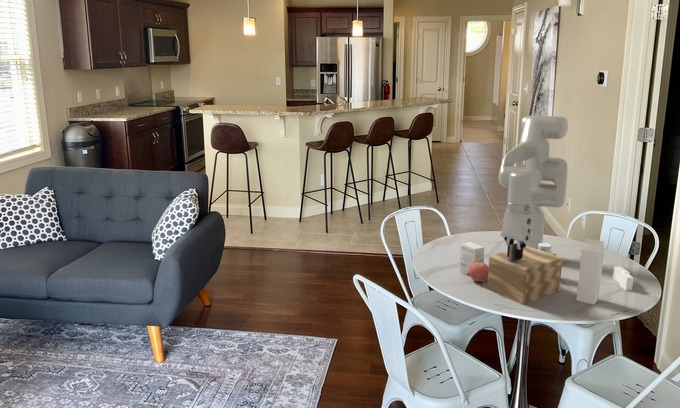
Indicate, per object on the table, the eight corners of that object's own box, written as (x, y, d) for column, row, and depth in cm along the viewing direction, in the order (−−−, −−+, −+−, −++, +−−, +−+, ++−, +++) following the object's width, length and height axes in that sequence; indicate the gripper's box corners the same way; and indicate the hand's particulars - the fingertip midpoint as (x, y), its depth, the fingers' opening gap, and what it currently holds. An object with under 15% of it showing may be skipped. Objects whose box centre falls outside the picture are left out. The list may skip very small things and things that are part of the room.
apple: (467, 283, 214) (468, 263, 212) (469, 276, 220) (470, 256, 218) (487, 285, 211) (488, 265, 209) (488, 278, 218) (490, 258, 216)
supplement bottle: (542, 280, 216) (545, 248, 213) (529, 274, 222) (531, 243, 219) (554, 277, 219) (557, 245, 216) (541, 271, 225) (544, 240, 222)
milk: (580, 295, 203) (587, 236, 198) (598, 299, 200) (605, 239, 194) (576, 300, 199) (582, 240, 193) (594, 305, 195) (601, 243, 190)
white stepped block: (609, 276, 221) (610, 262, 220) (641, 282, 215) (643, 268, 213) (600, 288, 210) (601, 274, 208) (634, 296, 203) (636, 281, 202)
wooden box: (523, 277, 219) (525, 248, 216) (559, 291, 206) (562, 260, 203) (487, 289, 209) (489, 258, 206) (522, 304, 196) (525, 271, 193)
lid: (525, 247, 216) (527, 230, 214) (562, 259, 203) (564, 241, 201) (489, 258, 206) (490, 240, 204) (525, 271, 193) (526, 252, 191)
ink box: (484, 276, 221) (485, 247, 218) (474, 278, 218) (475, 249, 215) (468, 269, 228) (469, 241, 225) (458, 271, 226) (460, 243, 223)
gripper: (545, 210, 191) (540, 262, 196) (507, 201, 205) (503, 249, 209) (530, 214, 187) (526, 266, 192) (492, 204, 201) (489, 253, 205)
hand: (514, 257), depth 201 cm, fingers open, 2 cm apart
